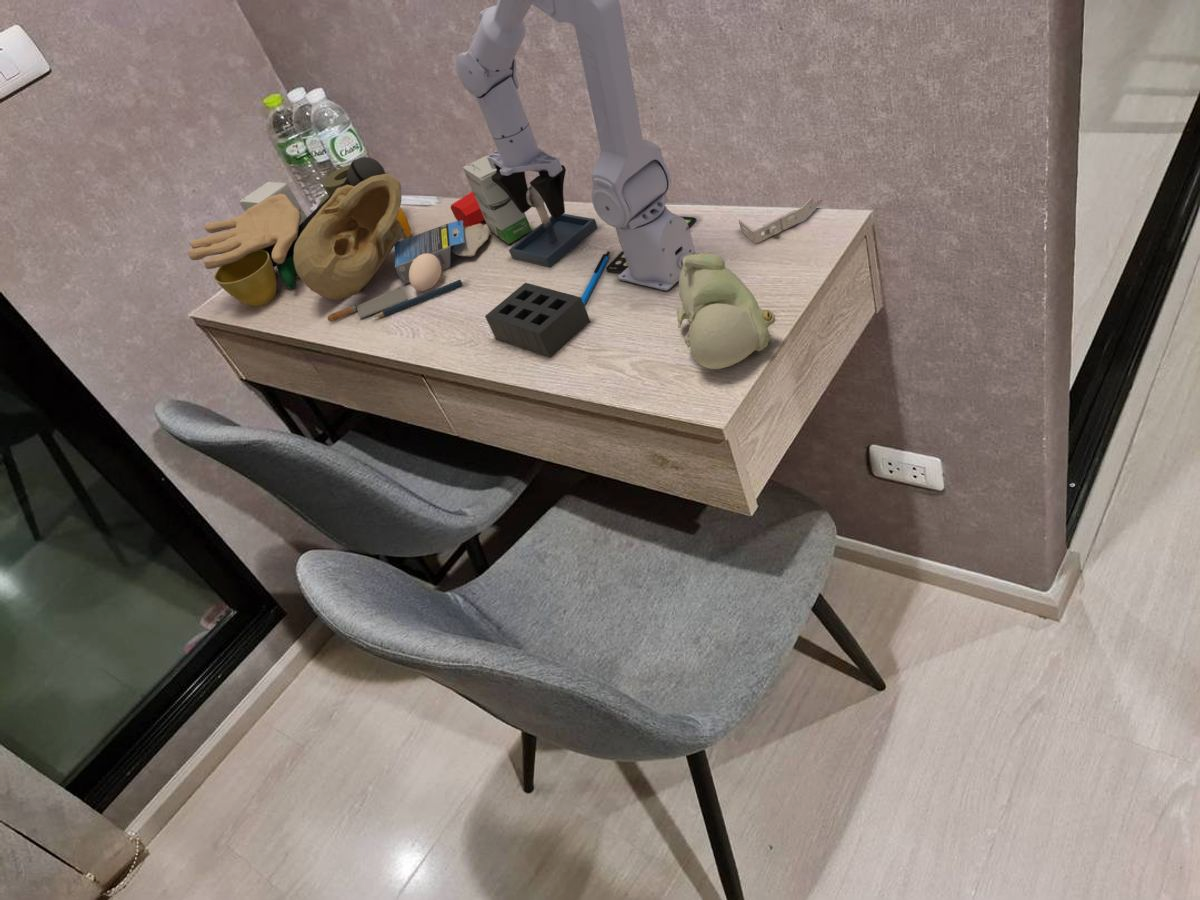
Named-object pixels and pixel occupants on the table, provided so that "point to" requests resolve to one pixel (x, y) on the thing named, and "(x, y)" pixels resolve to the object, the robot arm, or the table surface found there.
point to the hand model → (250, 233)
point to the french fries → (467, 210)
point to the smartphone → (620, 261)
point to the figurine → (720, 313)
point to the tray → (568, 236)
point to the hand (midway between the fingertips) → (542, 212)
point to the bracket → (780, 222)
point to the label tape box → (427, 247)
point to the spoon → (541, 212)
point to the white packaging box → (271, 190)
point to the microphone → (351, 180)
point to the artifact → (471, 240)
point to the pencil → (420, 298)
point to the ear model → (349, 237)
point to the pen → (595, 277)
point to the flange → (335, 181)
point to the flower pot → (249, 279)
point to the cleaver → (373, 305)
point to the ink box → (495, 202)
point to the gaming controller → (288, 272)
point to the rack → (538, 319)
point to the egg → (424, 272)
